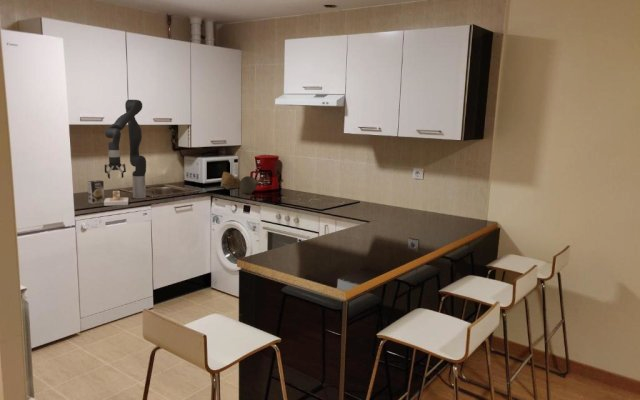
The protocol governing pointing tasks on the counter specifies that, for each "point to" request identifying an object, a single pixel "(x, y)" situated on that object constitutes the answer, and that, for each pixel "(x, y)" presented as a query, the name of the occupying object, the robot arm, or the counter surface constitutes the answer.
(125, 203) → the white base board
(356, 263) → the counter surface
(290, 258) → the counter surface
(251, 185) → the dark grey sphere
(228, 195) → the counter surface
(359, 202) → the counter surface
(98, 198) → the coffee box
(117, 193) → the maple block
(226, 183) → the rough brown rock
